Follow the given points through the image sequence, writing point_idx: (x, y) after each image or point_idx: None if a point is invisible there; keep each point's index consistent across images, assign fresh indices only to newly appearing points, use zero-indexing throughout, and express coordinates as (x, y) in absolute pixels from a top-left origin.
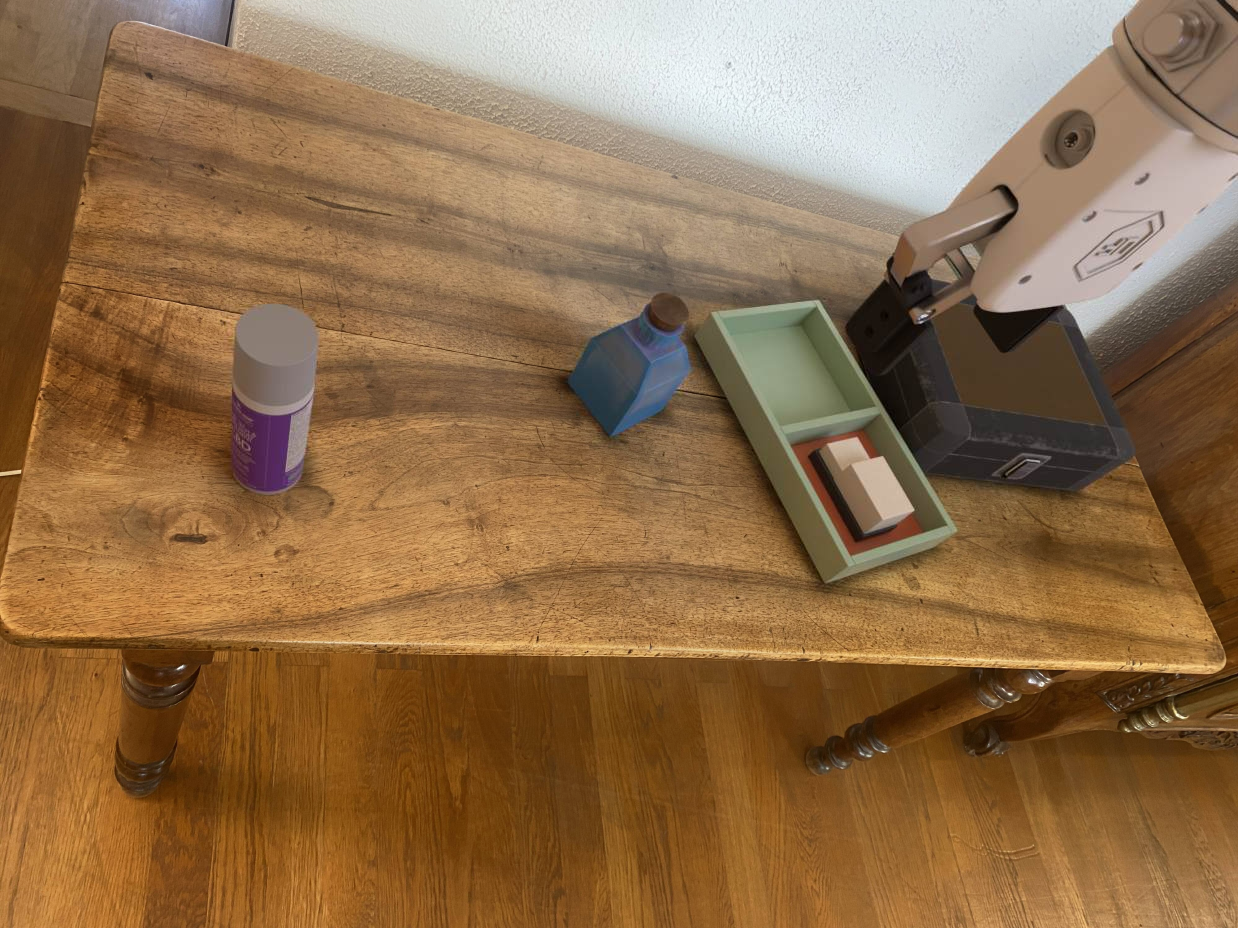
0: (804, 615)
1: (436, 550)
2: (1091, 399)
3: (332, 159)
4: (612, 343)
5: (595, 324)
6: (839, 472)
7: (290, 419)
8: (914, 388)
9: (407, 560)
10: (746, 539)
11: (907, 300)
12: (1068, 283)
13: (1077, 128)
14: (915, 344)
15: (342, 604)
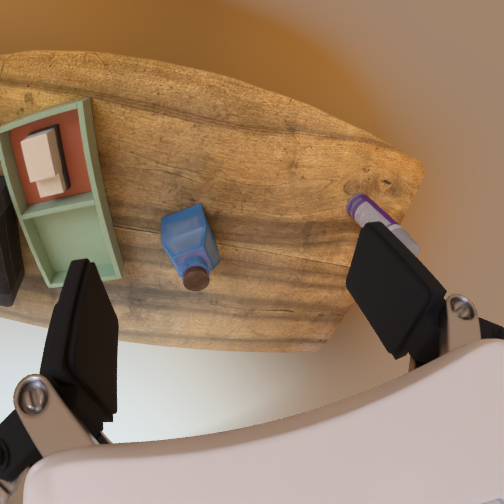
0: (115, 77)
1: (316, 155)
2: None
3: (277, 327)
4: (214, 258)
5: None
6: (59, 171)
7: (389, 222)
8: (1, 232)
9: (329, 154)
10: (134, 130)
11: (484, 321)
12: (428, 493)
13: None
14: (412, 265)
15: (358, 143)
